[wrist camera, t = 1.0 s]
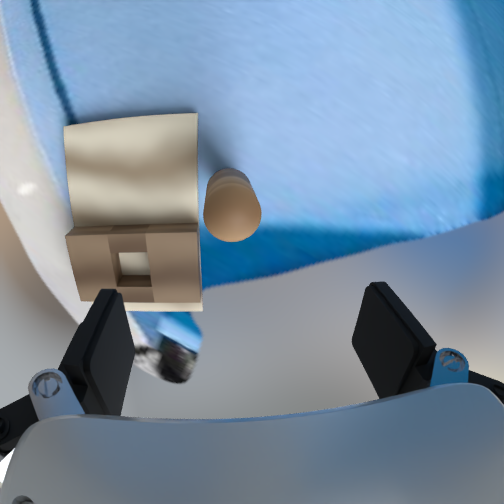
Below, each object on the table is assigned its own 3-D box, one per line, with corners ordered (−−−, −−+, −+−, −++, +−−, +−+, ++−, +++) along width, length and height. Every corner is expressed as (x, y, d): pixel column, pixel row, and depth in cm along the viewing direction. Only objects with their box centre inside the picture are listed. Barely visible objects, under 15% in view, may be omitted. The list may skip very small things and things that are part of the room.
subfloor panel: (68, 125, 25) (52, 128, 22) (198, 113, 27) (195, 112, 24) (96, 304, 35) (87, 321, 32) (202, 305, 37) (202, 324, 33)
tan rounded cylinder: (207, 162, 29) (202, 187, 20) (248, 162, 30) (262, 187, 20) (208, 200, 31) (204, 242, 22) (246, 200, 31) (260, 241, 22)
